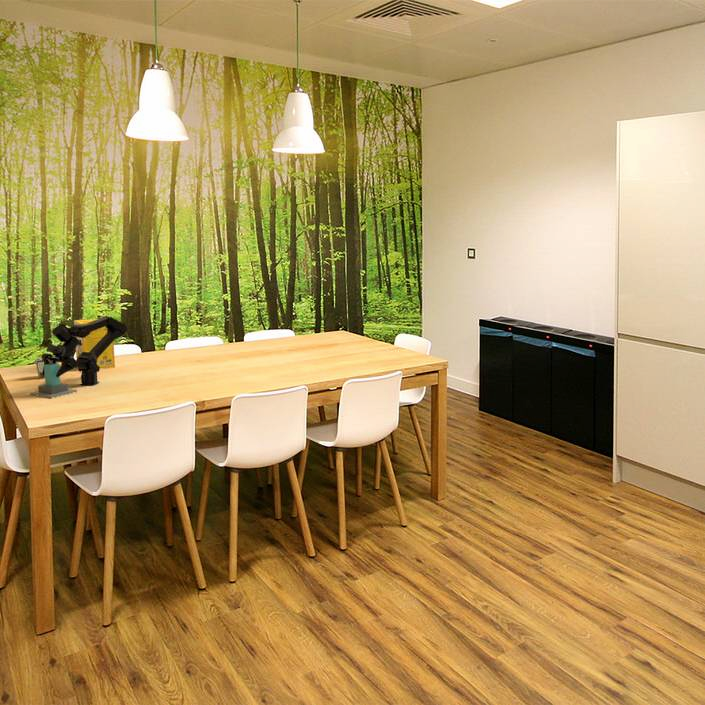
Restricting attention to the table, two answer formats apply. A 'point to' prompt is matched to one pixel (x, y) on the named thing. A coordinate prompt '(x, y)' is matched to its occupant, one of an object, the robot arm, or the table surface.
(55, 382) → the plug
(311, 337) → the table surface
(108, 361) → the packaging box
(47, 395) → the socket
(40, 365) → the food container
